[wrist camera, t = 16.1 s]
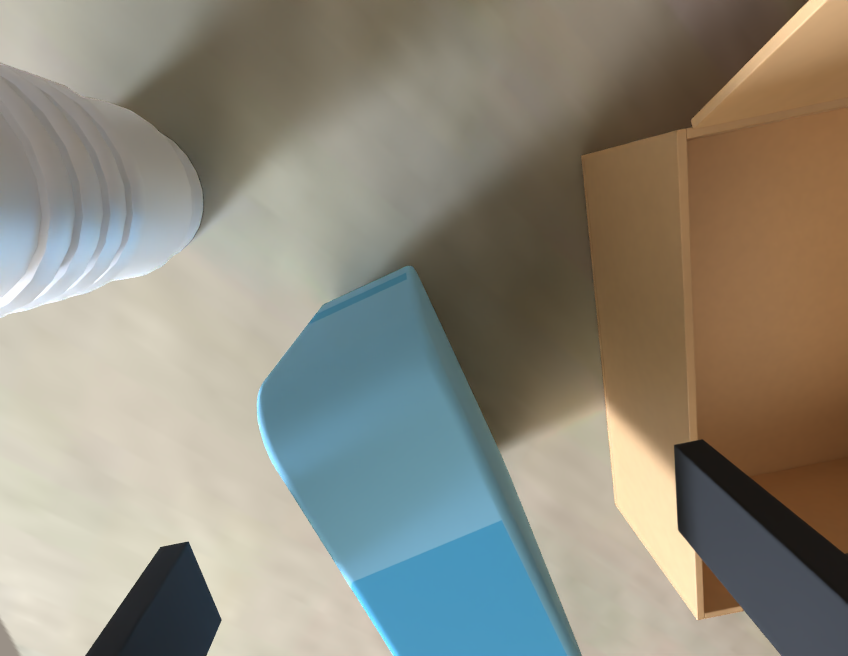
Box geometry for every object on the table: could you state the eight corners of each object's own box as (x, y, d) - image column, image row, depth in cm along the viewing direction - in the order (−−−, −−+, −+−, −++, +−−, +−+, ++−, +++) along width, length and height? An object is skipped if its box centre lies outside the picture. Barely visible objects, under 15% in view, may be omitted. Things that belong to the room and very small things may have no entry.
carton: (580, 155, 20) (676, 130, 13) (902, 88, 20) (1172, 27, 13) (614, 504, 25) (697, 620, 18) (872, 452, 25) (1056, 548, 18)
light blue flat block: (324, 299, 21) (234, 412, 10) (411, 259, 21) (423, 327, 10) (428, 496, 24) (453, 757, 13) (505, 463, 24) (600, 701, 13)
